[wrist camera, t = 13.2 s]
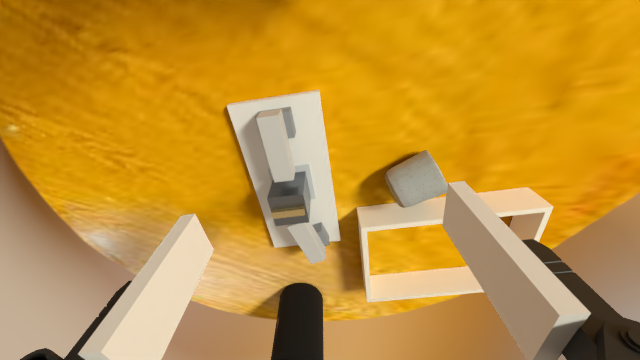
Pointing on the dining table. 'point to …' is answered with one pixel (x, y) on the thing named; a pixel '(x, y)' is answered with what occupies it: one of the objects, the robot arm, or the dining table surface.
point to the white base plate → (290, 163)
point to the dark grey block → (290, 200)
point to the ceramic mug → (415, 180)
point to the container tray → (449, 281)
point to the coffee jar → (299, 324)
